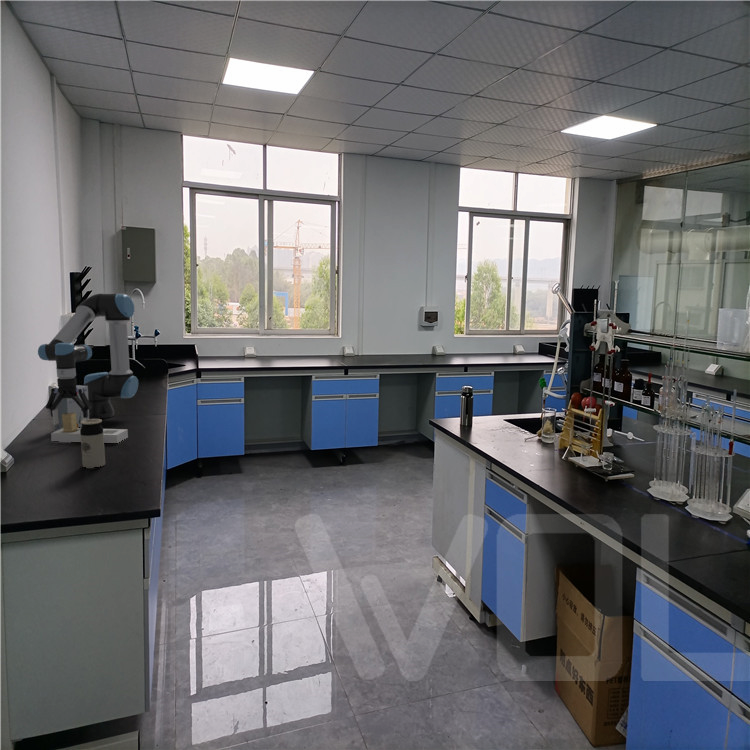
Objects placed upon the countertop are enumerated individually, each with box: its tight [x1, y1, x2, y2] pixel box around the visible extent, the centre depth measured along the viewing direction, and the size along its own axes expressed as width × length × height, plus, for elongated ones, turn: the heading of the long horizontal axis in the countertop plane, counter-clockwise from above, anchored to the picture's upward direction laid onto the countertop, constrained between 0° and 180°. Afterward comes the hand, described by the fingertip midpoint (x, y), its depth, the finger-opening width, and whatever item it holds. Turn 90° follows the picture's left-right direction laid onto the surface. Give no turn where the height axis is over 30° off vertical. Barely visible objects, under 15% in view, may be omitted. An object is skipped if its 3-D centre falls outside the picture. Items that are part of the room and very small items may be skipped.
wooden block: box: [62, 413, 77, 433], centre depth 258 cm, size 4×4×12 cm
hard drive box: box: [53, 384, 89, 432], centre depth 277 cm, size 16×8×20 cm, turn 168°
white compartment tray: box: [50, 427, 129, 444], centre depth 258 cm, size 10×30×4 cm, turn 87°
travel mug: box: [80, 419, 106, 469], centre depth 221 cm, size 8×8×18 cm
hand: (70, 424), depth 258 cm, fingers open, 12 cm apart
